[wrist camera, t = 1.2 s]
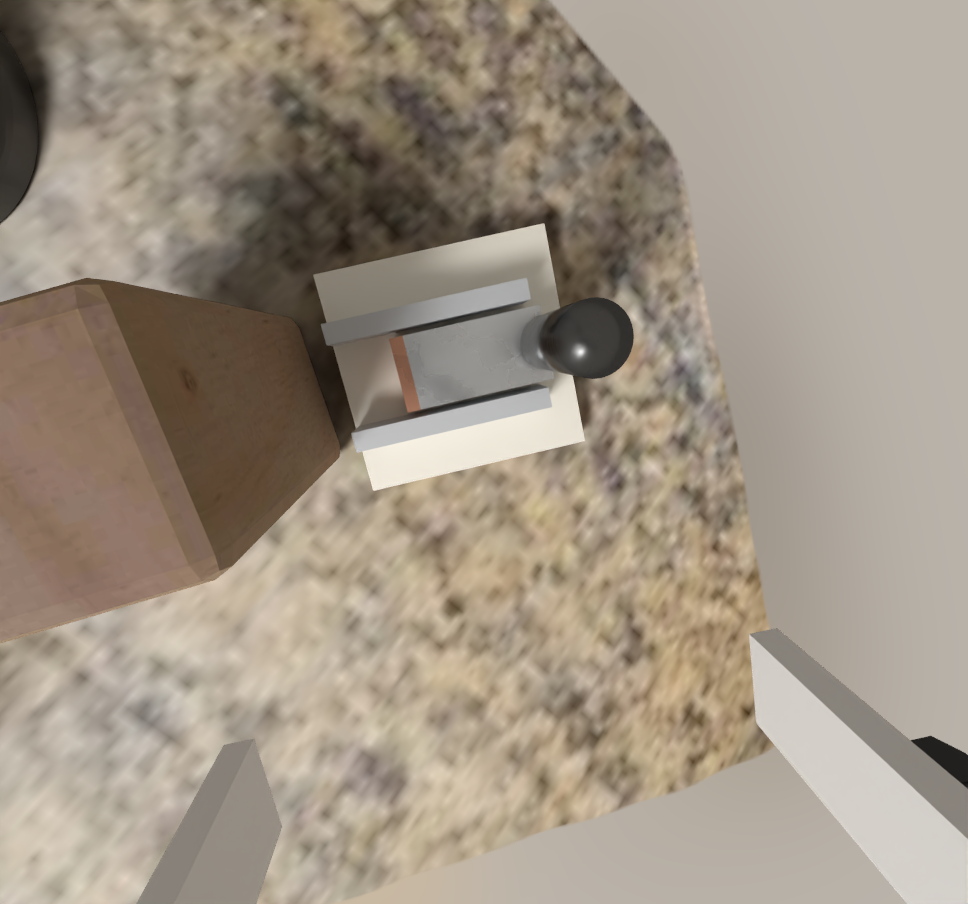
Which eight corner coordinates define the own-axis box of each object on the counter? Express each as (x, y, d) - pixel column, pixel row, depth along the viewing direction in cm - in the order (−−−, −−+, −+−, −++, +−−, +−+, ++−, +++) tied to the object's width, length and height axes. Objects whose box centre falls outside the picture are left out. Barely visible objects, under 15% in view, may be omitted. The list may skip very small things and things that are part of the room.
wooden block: (297, 313, 34) (97, 262, 14) (347, 456, 36) (231, 584, 16) (149, 355, 34) (-259, 364, 14) (207, 497, 36) (-79, 676, 16)
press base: (320, 279, 34) (299, 266, 29) (538, 230, 34) (554, 210, 29) (377, 483, 36) (366, 504, 32) (577, 436, 37) (597, 449, 32)
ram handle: (393, 339, 32) (361, 333, 20) (557, 302, 33) (624, 274, 21) (410, 408, 33) (390, 441, 21) (570, 370, 34) (641, 383, 21)
